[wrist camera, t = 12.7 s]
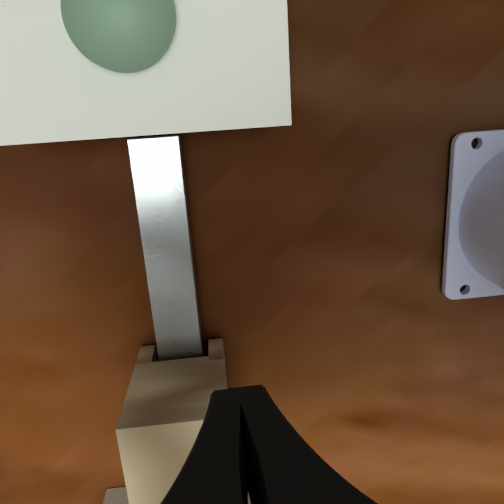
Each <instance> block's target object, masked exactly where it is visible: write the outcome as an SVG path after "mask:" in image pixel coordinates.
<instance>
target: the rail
mask: <svg viewBox="0 0 504 504" xmlns="http://www.w3.org/2000/svg"><path fill="white" fill-rule="evenodd" d="M127 141H128V148H129V155H130V162H131V169H132V176H133V183H134V190H135V197H136V204H137V211H138V218H139V225H140V232H141V239H142V246H143V253H144V260H145V267H146V274H147V281H148V288H149V295H150V302H151V309H152V316H153V323H154V330H155V337H156V344H157V351H158V358H159V361H166V360H176V359H186V358H196V357H205V356H204V347H203V338H202V329H201V320H200V310H199V301H198V292H197V283H196V273H195V264H194V255H193V246H192V236H191V227H190V218H189V209H188V199H187V190H186V181H185V172H184V163H183V153H182V144H181V135H166V136H152V137H138V138H131V139H128V140H127Z"/></svg>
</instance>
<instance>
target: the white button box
mask: <svg viewBox="0 0 504 504" xmlns="http://www.w3.org/2000/svg"><path fill="white" fill-rule="evenodd" d="M288 125H292V122H291V95H290V68H289V41H288V14H287V0H0V146H3V145H17V144H31V143H46V142H60V141H74V140H88V139H103V138H117V137H131V136H145V135H159V134H174V133H188V132H202V131H216V130H231V129H245V128H259V127H273V126H288Z"/></svg>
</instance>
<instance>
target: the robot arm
mask: <svg viewBox="0 0 504 504" xmlns="http://www.w3.org/2000/svg"><path fill="white" fill-rule="evenodd" d="M474 138H476V139H477V141H478V143H477V146H476V147H475V148H472V146H471V142H472V140H473V139H474ZM463 285H466V288H465V289H464V290H463V291H461V292H460V288H461V287H462V286H463ZM442 293H443V294H444V295H445V296H446V297H447V298H449V299H452V300H456V299H466V298H476V297H487V296H497V295H504V129H500V130H487V131H473V132H462V133H458V134H457V135H456V136H455V137H454V138H453V140H452V143H451V154H450V170H449V185H448V201H447V216H446V232H445V247H444V262H443V278H442ZM248 494H249V498H250V503H251V504H377V503H376V502H374V501H373V500H372V499H370V498H369V497H367V496H366V495H364V494H363V493H362V492H360V491H359V490H358V489H356V488H355V487H354V486H353V485H351V484H350V483H349V482H348V481H346V480H345V479H344V478H343V477H342V476H340V475H339V474H338V473H337V472H336V471H335V470H334V469H332V468H331V467H330V466H329V465H328V464H327V463H326V462H325V461H324V460H323V459H322V458H321V457H320V456H319V455H318V454H317V453H316V452H315V451H314V450H313V449H312V448H311V447H310V446H309V445H308V444H307V443H306V442H305V441H304V440H303V438H302V437H301V436H300V435H299V434H298V433H297V432H296V430H295V429H294V428H293V427H292V426H291V424H290V423H289V422H288V421H287V419H286V418H285V417H284V416H283V414H282V413H281V412H280V410H279V409H278V407H277V406H276V405H275V403H274V402H273V400H272V399H271V397H270V395H269V394H268V392H267V390H266V388H265V387H263V386H262V385H255V386H247V387H238V388H230V389H222V390H214V391H213V393H212V394H211V395H210V401H209V405H208V409H207V412H206V415H205V418H204V421H203V424H202V426H201V429H200V431H199V433H198V436H197V438H196V440H195V443H194V445H193V447H192V449H191V451H190V453H189V455H188V457H187V459H186V461H185V463H184V465H183V467H182V469H181V471H180V473H179V474H178V476H177V478H176V480H175V481H174V483H173V485H172V486H171V488H170V490H169V491H168V493H167V494H166V496H165V497H164V499H163V500H162V502H161V503H160V504H248Z"/></svg>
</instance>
